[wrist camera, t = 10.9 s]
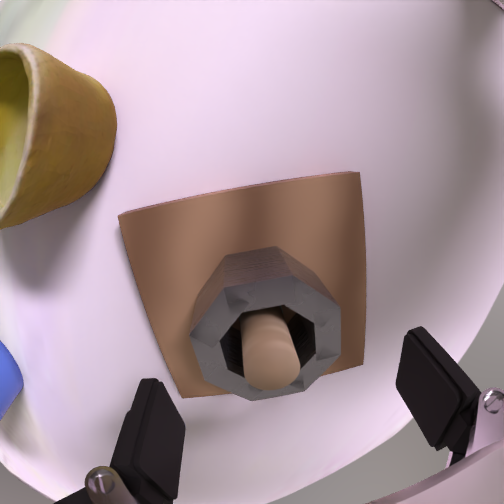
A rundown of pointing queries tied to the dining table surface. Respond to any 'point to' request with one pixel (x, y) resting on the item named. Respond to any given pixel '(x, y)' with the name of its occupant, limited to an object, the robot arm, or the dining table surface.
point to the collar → (259, 297)
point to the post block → (246, 239)
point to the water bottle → (8, 379)
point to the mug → (49, 133)
